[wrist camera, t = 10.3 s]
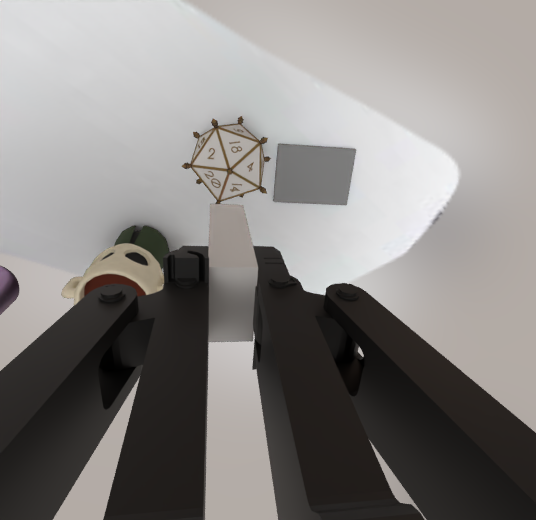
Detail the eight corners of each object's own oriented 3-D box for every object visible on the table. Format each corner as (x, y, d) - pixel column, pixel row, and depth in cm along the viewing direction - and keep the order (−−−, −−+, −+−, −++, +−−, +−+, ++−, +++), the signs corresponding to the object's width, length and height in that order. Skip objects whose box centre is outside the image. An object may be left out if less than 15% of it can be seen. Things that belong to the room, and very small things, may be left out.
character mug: (186, 220, 43) (172, 267, 32) (190, 272, 46) (178, 333, 35) (92, 220, 42) (40, 270, 31) (102, 274, 45) (59, 338, 34)
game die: (275, 180, 43) (289, 204, 34) (207, 202, 43) (202, 232, 34) (252, 101, 39) (260, 104, 30) (177, 126, 39) (163, 136, 30)
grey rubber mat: (273, 200, 44) (273, 201, 43) (278, 143, 41) (278, 144, 40) (345, 203, 45) (346, 205, 44) (354, 148, 42) (356, 149, 41)
